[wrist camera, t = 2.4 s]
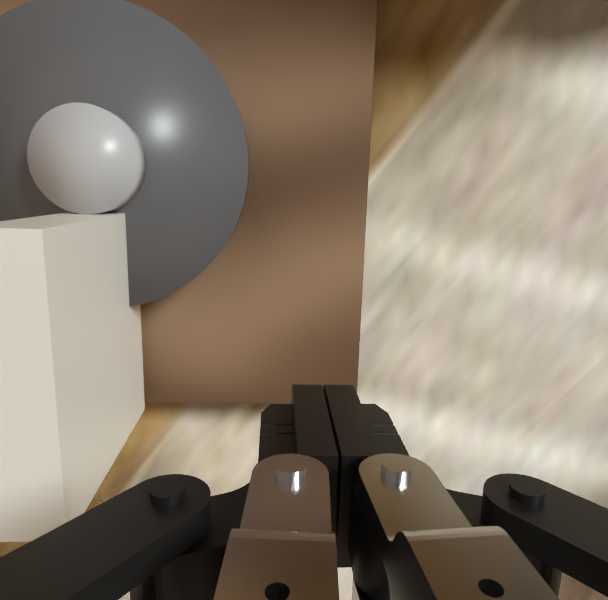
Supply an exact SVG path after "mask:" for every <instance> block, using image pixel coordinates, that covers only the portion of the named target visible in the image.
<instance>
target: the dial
mask: <svg viewBox="0 0 608 600" xmlns="http://www.w3.org/2000/svg"><path fill="white" fill-rule="evenodd" d="M249 170H250V164H249V148H248V143H247V137H246V132H245V128H244V125H243V122H242V118H241V115H240V112H239V110H238V108H237V105H236V103H235V101H234V99H233V97H232V95H231V92H230V90H229V88H228V86H227V85H226V83H225V81H224V80H223V78H222V77H221V75H220V73H219V72H218V70H217V68H216V67H215V66H214V64H213V63H212V62H211V61H210V59H209V58H208V57H207V56H206V54H205V53H204V52H203V51H202V50H201V49H200V48H199V47H198V46H197V45H196V44H195V43H194V42H193V41H192V40H191V39H190V38H189V37H188V36H187V35H186V34H185V33H183V32H182V31H181V30H179V29H178V28H177V27H175V26H174V25H173V24H171V23H170V22H169V21H167V20H165V19H164V18H162V17H160V16H158V15H157V14H155V13H153V12H151V11H150V10H147V9H145V8H142V7H140V6H138V5H135V4H133V3H130V2H128V1H124V0H34V1H30V2H27V3H24V4H22V5H20V6H18V7H16V8H14V9H12V10H10V11H8V12H6V13H4V14H2V15H1V16H0V542H31V541H33V540H35V539H36V538H38V537H40V536H42V535H44V534H46V533H48V532H50V531H51V530H53V529H55V528H57V527H59V526H61V525H63V524H65V523H66V522H68V521H70V520H72V519H74V518H76V517H78V516H79V515H81V514H83V513H85V511H86V509H87V507H88V506H89V504H90V502H91V501H92V499H93V497H94V495H95V494H96V492H97V490H98V489H99V487H100V485H101V483H102V482H103V480H104V478H105V477H106V475H107V473H108V471H109V470H110V468H111V466H112V465H113V463H114V461H115V459H116V458H117V456H118V454H119V453H120V451H121V449H122V447H123V446H124V444H125V442H126V441H127V439H128V437H129V435H130V434H131V432H132V430H133V429H134V427H135V425H136V423H137V422H138V420H139V418H140V417H141V415H142V413H143V411H144V410H145V401H144V378H143V354H142V331H141V308H140V305H141V304H145V303H148V302H151V301H154V300H157V299H160V298H162V297H164V296H166V295H168V294H171V293H173V292H175V291H177V290H178V289H180V288H181V287H183V286H184V285H186V284H188V283H189V282H191V281H192V280H193V279H194V278H195V277H197V276H198V275H199V274H200V273H201V272H202V271H204V270H205V269H206V268H207V267H208V265H209V264H210V263H211V262H212V261H213V260H214V259H215V258H216V257H217V255H218V254H219V253H220V252H221V251H222V249H223V248H224V246H225V245H226V243H227V242H228V240H229V239H230V237H231V236H232V234H233V232H234V230H235V228H236V226H237V224H238V222H239V219H240V216H241V213H242V211H243V208H244V205H245V200H246V195H247V190H248V185H249Z"/></svg>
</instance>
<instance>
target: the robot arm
mask: <svg viewBox="0 0 608 600" xmlns="http://www.w3.org/2000/svg"><path fill="white" fill-rule="evenodd" d="M337 567H352V571H353V587H352V600H559V598H558V594H559V587H560V581H561V574H562V572H563V573H565V574H567V575H569V576H571V577H572V578H574V579H576V580H578V581H580V582H581V583H583V584H585V585H587V586H589V587H591V588H592V589H594V590H596V591H598V592H600V593H601V594H603V595H605V596H607V597H608V509H607V508H605V507H602V506H600V505H598V504H595V503H593V502H591V501H588V500H586V499H584V498H582V497H579V496H577V495H575V494H572V493H570V492H568V491H565V490H563V489H561V488H558V487H556V486H554V485H552V484H549V483H547V482H545V481H542V480H540V479H537V478H533V477H530V476H526V475H520V474H499V475H495V476H492V477H490V478H489V479H487V480H486V482H485V483H484V488H483V496H478V495H473V494H467V493H462V492H457V491H452V490H449V489H446V488H445V487H444V486H443V484H442V483H441V481H440V480H439V478H438V477H437V476H436V474H435V473H434V471H433V470H432V469H431V468H430V467H429V466H428V465H427V464H425V463H424V462H422V461H420V460H418V459H416V458H413V457H410V456H409V454H408V452H407V450H406V448H405V446H404V444H403V442H402V440H401V438H400V436H399V435H398V432H397V430H396V428H395V426H393V422H392V420H391V418H390V416H389V414H388V413H387V412H386V411H384V410H383V409H381V408H380V407H379V406H377V405H376V404H361V403H360V400H359V398H358V395H357V393H356V390H355V388H354V385H336V384H324V385H323V388H322V385H321V384H292V401H291V404H270V405H269V406H268V407H267V408H266V409H265V410H264V411H263V412H262V413H261V428H260V443H259V459H258V463H257V464H256V466H255V467H254V469H253V471H252V475H251V480H250V482H249V483H248V484H247V485H245V486H244V487H242V488H239V489H237V490H235V491H232V492H228V493H224V494H220V495H215V496H210V489H209V487H208V485H207V484H206V483H205V482H204V481H202V480H200V479H198V478H196V477H193V476H189V475H182V474H171V475H163V476H158V477H154V478H151V479H148V480H146V481H143V482H141V483H139V484H138V485H136V486H134V487H132V488H130V489H128V490H126V491H124V492H123V493H121V494H119V495H117V496H115V497H113V498H111V499H109V500H108V501H106V502H104V503H102V504H100V505H98V506H96V507H94V508H93V509H91V510H89V511H87V512H85V513H83V514H81V515H79V516H78V517H76V518H74V519H72V520H70V521H68V522H66V523H65V524H63V525H61V526H59V527H57V528H55V529H53V530H51V531H50V532H48V533H46V534H44V535H42V536H40V537H38V538H36V539H35V540H33V541H31V542H29V543H27V544H25V545H23V546H21V547H20V548H18V549H16V550H14V551H12V552H10V553H8V554H7V555H5V556H3V557H1V558H0V600H118V599H119V598H121V597H122V596H124V595H125V594H126V593H128V592H129V591H130V600H339V588H338V571H337Z"/></svg>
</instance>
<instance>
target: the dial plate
mask: <svg viewBox="0 0 608 600" xmlns="http://www.w3.org/2000/svg"><path fill="white" fill-rule="evenodd" d="M30 1H34V0H0V16H1V15H2V14H4V13H6V12H8V11H10V10H12V9H14V8H16V7H18V6H20V5H22V4H24V3H27V2H30ZM124 1H128V2H130V3H133V4H135V5H138V6H140V7H142V8H145V9H147V10H150V11H151V12H153V13H155V14H157V15H158V16H160V17H162V18H164V19H165V20H167V21H169V22H170V23H171V24H173V25H174V26H175V27H177V28H178V29H179V30H181V31H182V32H183V33H185V34H186V35H187V36H188V37H189V38H190V39H191V40H192V41H193V42H194V43H195V44H196V45H197V46H198V47H199V48H200V49H201V50H202V51H203V52H204V53H205V54H206V56H207V57H208V58H209V59H210V61H211V62H212V63H213V64H214V66H215V67H216V68H217V70H218V72H219V73H220V75H221V77H222V78H223V80H224V81H225V83H226V85H227V86H228V88H229V90H230V92H231V95H232V97H233V99H234V101H235V103H236V105H237V108H238V110H239V112H240V115H241V118H242V122H243V125H244V128H245V132H246V137H247V143H248V148H249V164H250V170H249V185H248V190H247V195H246V200H245V205H244V208H243V211H242V213H241V216H240V219H239V222H238V224H237V226H236V228H235V230H234V232H233V234H232V236H231V237H230V239H229V240H228V242H227V243H226V245H225V246H224V248H223V249H222V251H221V252H220V253H219V254H218V255H217V257H216V258H215V259H214V260H213V261H212V262H211V263H210V264H209V265H208V267H207V268H206V269H205V270H204V271H202V272H201V273H200V274H199V275H198V276H197V277H195V278H194V279H193V280H192V281H191V282H189V283H188V284H186V285H184V286H183V287H181V288H180V289H178V290H177V291H175V292H173V293H171V294H168V295H166V296H164V297H162V298H160V299H157V300H154V301H151V302H148V303H145V304H141V305H140V308H141V331H142V354H143V378H144V401H145V403H197V404H291V401H292V384H321V385H322V388H323V385H324V384H336V385H354V388H355V390H356V393H357V379H358V360H359V341H360V322H361V304H362V285H363V266H364V247H365V229H366V210H367V191H368V172H369V153H370V135H371V116H372V97H373V78H374V60H375V41H376V22H377V3H378V0H124Z"/></svg>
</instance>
